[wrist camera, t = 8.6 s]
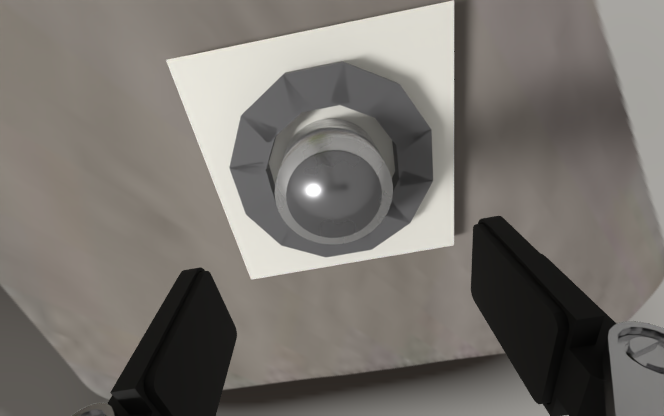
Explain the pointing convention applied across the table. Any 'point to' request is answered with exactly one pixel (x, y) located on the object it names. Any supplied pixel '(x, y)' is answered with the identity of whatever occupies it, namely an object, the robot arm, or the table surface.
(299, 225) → the cap
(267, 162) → the mounted pipe fitting
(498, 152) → the table surface
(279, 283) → the table surface
